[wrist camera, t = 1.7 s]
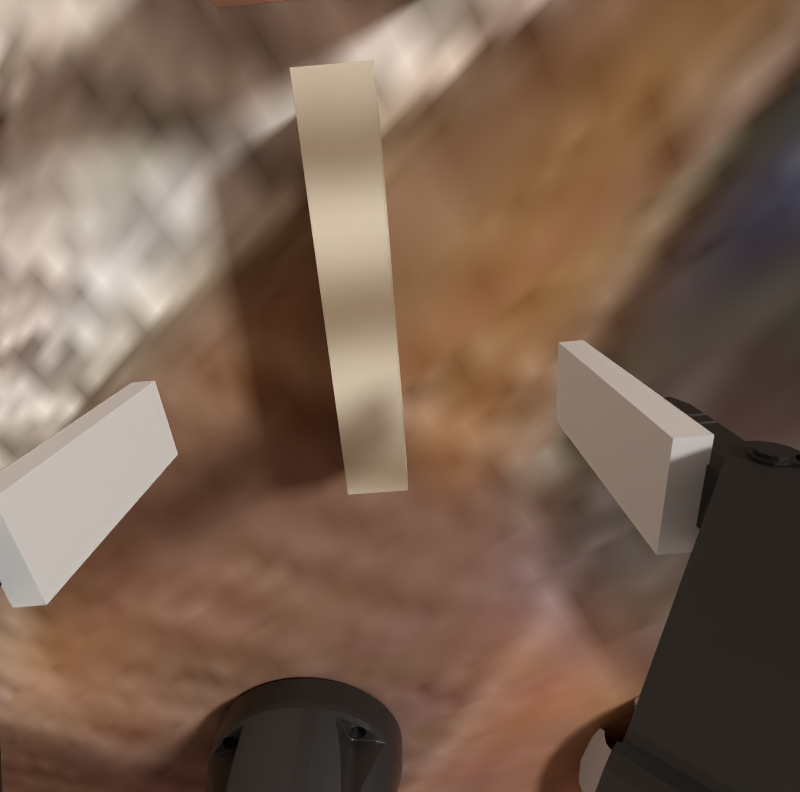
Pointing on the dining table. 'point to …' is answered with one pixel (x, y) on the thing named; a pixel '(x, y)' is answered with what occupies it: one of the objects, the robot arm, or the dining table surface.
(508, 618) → the dining table surface
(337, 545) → the dining table surface
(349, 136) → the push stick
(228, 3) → the tile
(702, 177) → the dining table surface
